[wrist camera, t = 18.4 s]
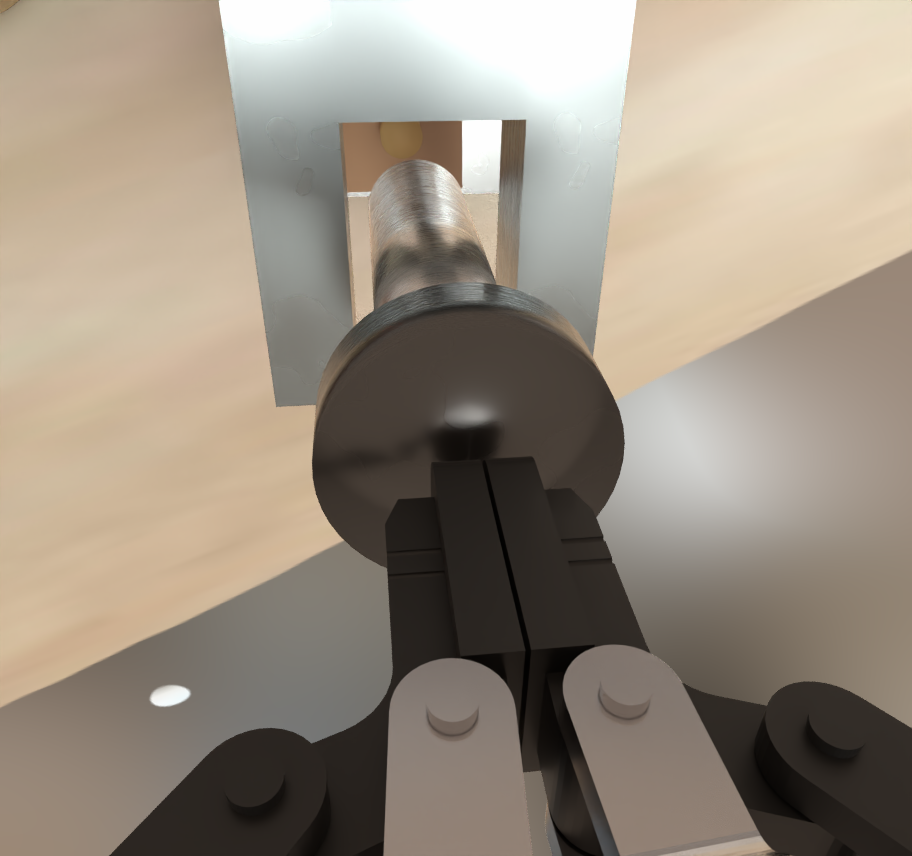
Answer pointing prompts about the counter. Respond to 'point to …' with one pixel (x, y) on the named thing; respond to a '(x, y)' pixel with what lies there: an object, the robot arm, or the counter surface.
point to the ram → (451, 371)
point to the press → (424, 99)
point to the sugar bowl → (6, 4)
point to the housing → (399, 148)
